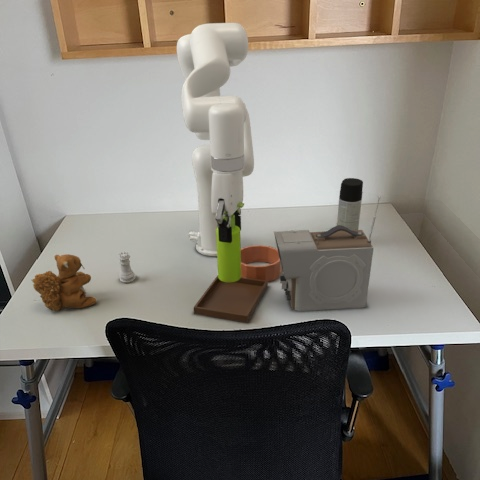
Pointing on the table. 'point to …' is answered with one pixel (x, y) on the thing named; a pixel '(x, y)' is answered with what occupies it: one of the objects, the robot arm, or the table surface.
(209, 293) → the tray
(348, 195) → the spray can
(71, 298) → the stuffed squirrel
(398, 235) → the table surface
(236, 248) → the soap dispenser
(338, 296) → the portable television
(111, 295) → the table surface
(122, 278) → the rook chess piece
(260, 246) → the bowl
